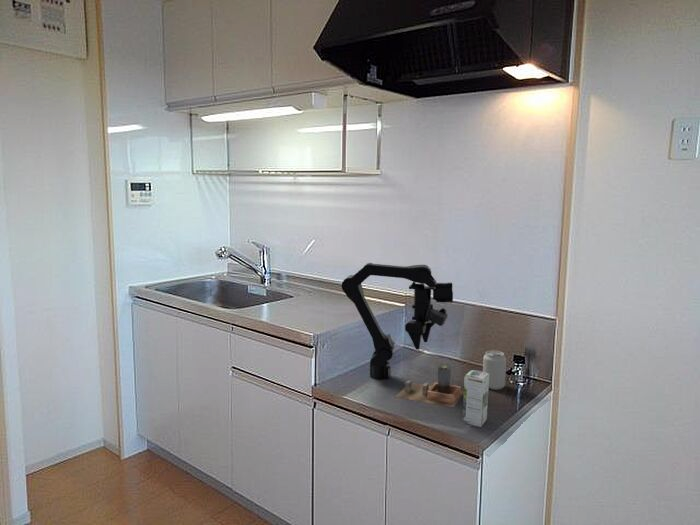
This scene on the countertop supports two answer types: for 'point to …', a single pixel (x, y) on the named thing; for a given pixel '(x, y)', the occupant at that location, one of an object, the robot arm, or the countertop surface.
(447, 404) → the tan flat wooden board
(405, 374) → the countertop surface
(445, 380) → the cell
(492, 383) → the can
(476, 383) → the syrup box
